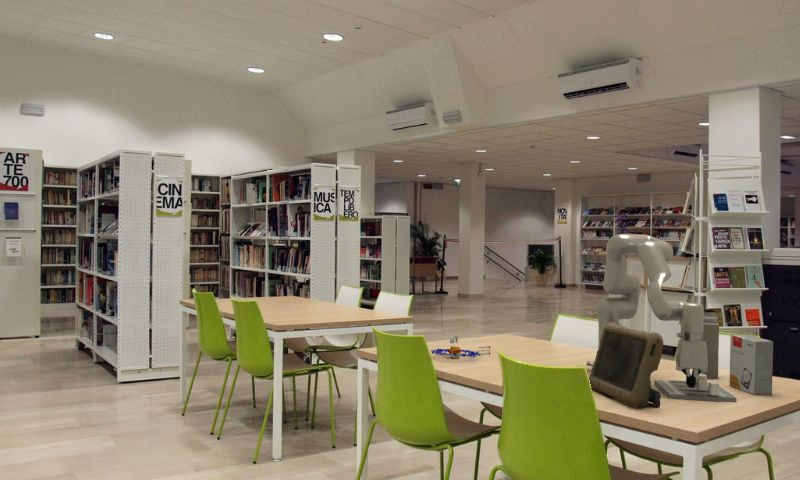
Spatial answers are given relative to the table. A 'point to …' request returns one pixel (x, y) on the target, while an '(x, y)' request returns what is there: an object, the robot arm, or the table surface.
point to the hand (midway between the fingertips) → (690, 387)
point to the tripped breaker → (701, 383)
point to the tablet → (627, 365)
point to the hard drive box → (751, 364)
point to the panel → (691, 392)
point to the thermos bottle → (711, 342)
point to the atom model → (458, 351)
